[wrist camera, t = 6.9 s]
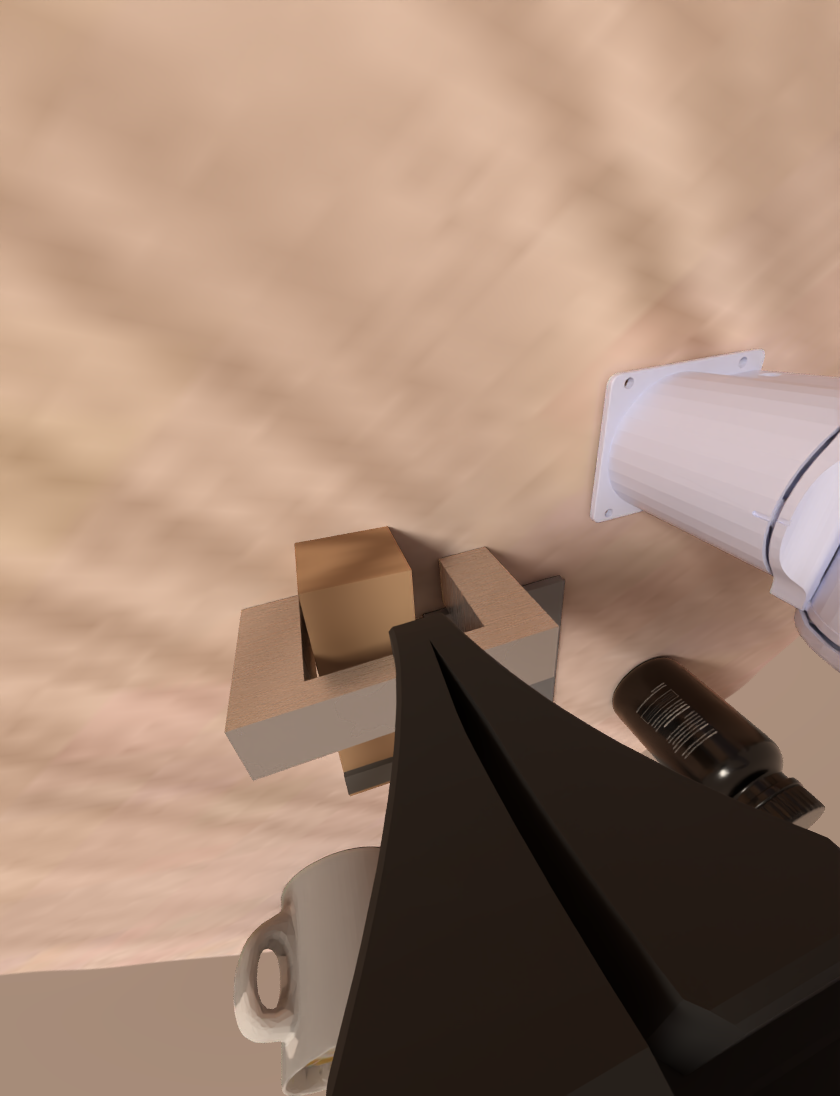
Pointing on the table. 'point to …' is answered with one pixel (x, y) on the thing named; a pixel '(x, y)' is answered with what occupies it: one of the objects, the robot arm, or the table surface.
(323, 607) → the wooden block
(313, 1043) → the coffee mug
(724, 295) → the table surface
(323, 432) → the table surface
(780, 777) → the supplement bottle
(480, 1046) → the robot arm
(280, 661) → the housing
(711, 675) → the table surface
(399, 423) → the table surface
